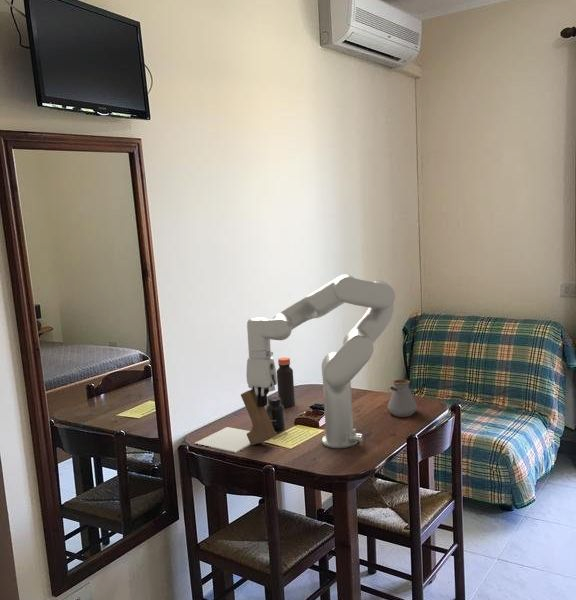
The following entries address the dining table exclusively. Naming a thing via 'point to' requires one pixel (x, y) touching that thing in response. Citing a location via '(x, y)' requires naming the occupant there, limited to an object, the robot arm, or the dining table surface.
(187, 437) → the dining table surface
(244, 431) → the off-white mat
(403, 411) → the coffee pot
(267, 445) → the dining table surface
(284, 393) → the vinegar
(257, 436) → the wooden block
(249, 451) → the dining table surface
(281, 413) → the supplement bottle
